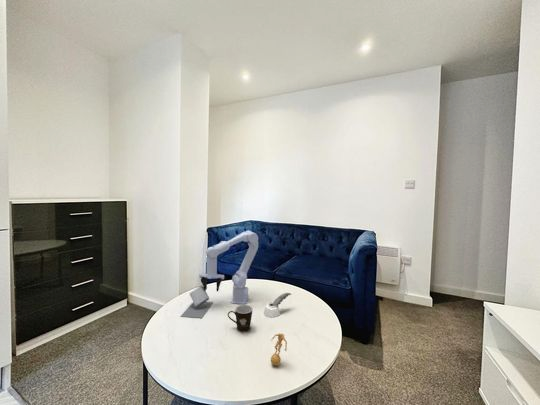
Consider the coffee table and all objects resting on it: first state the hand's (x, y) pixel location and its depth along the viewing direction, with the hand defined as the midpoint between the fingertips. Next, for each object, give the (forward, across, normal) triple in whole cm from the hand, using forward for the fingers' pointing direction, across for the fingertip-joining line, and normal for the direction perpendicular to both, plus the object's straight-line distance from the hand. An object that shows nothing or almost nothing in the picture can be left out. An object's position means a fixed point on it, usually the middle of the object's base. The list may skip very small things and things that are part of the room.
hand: (211, 290), depth 140 cm
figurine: (+10, +42, -42) cm, 60 cm away
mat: (+9, -6, -5) cm, 12 cm away
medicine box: (+6, -4, -4) cm, 8 cm away
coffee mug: (+10, +22, -20) cm, 31 cm away
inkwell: (+10, +40, -1) cm, 41 cm away
